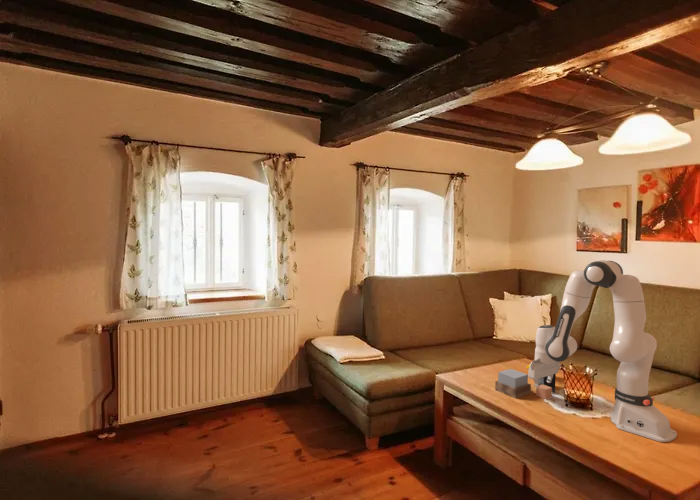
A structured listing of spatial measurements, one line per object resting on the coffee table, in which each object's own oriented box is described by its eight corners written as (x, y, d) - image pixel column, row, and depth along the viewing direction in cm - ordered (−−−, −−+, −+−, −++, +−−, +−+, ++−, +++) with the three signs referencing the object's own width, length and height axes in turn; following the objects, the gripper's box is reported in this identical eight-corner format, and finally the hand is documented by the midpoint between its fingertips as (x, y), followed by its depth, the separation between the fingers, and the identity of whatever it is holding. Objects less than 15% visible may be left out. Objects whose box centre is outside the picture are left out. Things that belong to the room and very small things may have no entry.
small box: (556, 392, 205) (556, 372, 205) (543, 392, 206) (543, 372, 205) (546, 384, 216) (547, 365, 215) (534, 384, 216) (534, 365, 215)
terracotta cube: (551, 397, 200) (551, 387, 199) (545, 399, 197) (545, 389, 197) (542, 394, 204) (542, 384, 204) (536, 396, 201) (536, 386, 201)
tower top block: (527, 384, 205) (527, 374, 204) (515, 388, 199) (515, 378, 199) (510, 378, 213) (510, 368, 213) (498, 381, 208) (498, 372, 208)
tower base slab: (530, 394, 205) (530, 384, 204) (515, 399, 198) (515, 389, 198) (510, 386, 215) (510, 376, 215) (495, 390, 209) (495, 381, 208)
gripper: (537, 363, 192) (535, 391, 193) (562, 356, 202) (561, 382, 203) (525, 358, 197) (524, 386, 198) (550, 352, 208) (549, 378, 209)
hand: (543, 384), depth 201 cm, fingers open, 8 cm apart
